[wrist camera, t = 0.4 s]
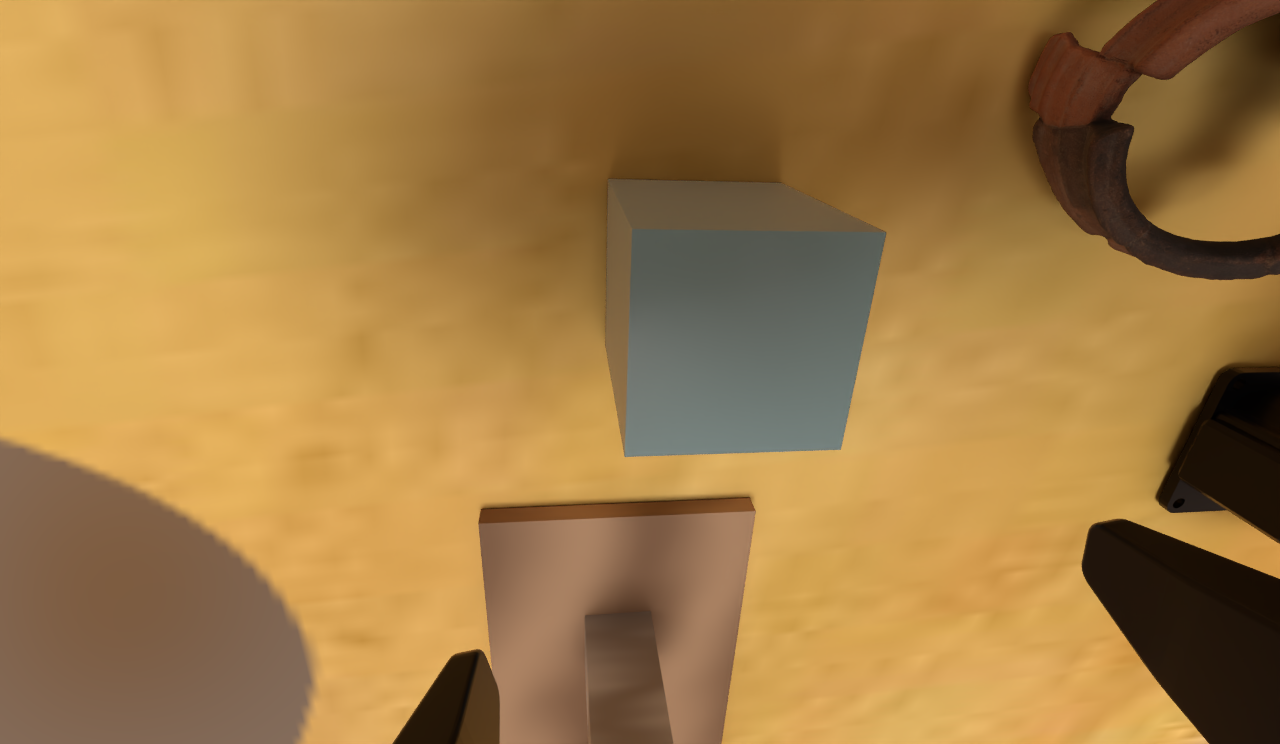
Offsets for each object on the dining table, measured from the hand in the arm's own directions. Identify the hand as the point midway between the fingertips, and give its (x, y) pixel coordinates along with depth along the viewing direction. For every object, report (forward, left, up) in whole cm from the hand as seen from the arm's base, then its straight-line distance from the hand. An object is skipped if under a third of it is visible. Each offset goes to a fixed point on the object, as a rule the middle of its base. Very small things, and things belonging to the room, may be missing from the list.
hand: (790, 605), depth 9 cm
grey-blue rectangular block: (-1, -2, -12) cm, 12 cm away
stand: (+1, +15, -12) cm, 20 cm away
